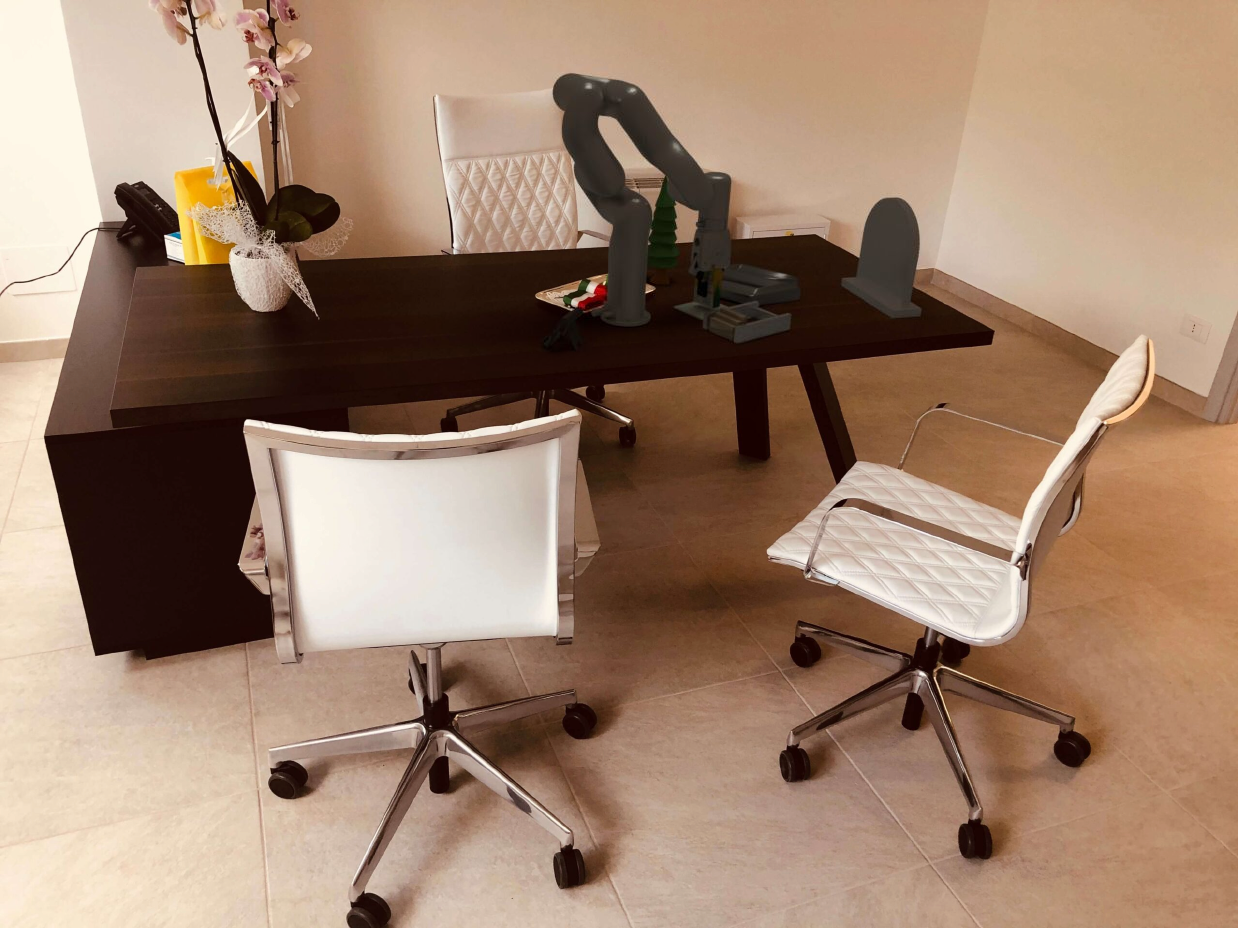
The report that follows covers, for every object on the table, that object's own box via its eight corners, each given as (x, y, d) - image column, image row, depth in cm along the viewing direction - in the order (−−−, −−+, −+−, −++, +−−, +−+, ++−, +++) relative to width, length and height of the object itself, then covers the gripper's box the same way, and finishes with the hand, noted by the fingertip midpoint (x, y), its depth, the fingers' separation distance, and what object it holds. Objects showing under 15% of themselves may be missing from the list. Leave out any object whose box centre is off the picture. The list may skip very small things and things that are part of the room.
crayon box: (720, 307, 250) (723, 263, 244) (712, 309, 248) (715, 265, 243) (701, 299, 255) (704, 256, 249) (692, 301, 253) (695, 258, 248)
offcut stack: (731, 341, 233) (733, 319, 231) (709, 331, 239) (711, 310, 236) (745, 337, 236) (747, 316, 233) (722, 328, 241) (724, 307, 239)
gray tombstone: (921, 316, 254) (942, 211, 241) (892, 318, 252) (911, 212, 239) (868, 284, 278) (884, 186, 265) (840, 286, 275) (855, 187, 262)
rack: (737, 343, 231) (738, 328, 230) (702, 328, 240) (703, 313, 238) (789, 329, 241) (791, 314, 239) (754, 315, 250) (755, 300, 248)
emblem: (696, 285, 255) (700, 256, 279) (695, 305, 257) (698, 274, 282) (803, 292, 252) (797, 262, 277) (801, 312, 255) (795, 281, 279)
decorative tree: (648, 286, 268) (654, 176, 254) (638, 276, 276) (643, 169, 262) (681, 285, 271) (688, 175, 257) (671, 275, 279) (677, 168, 265)
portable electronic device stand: (557, 336, 232) (557, 303, 228) (587, 341, 230) (588, 307, 226) (541, 348, 225) (541, 314, 221) (572, 353, 222) (572, 319, 218)
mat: (704, 321, 245) (704, 319, 245) (673, 307, 253) (673, 306, 253) (738, 312, 251) (738, 311, 251) (707, 300, 260) (707, 298, 260)
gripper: (698, 231, 235) (692, 304, 243) (746, 223, 244) (739, 293, 252) (678, 224, 240) (673, 296, 248) (726, 216, 249) (720, 285, 257)
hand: (707, 294), depth 250 cm, fingers closed on crayon box, 3 cm apart
